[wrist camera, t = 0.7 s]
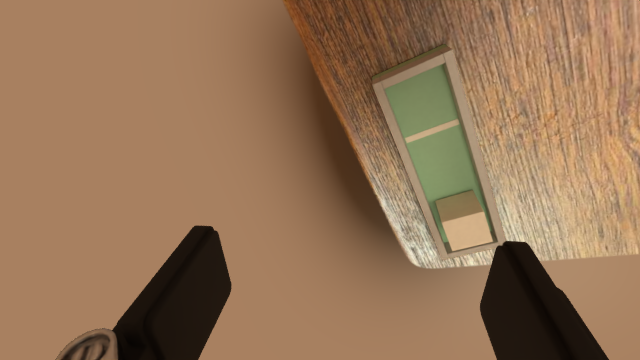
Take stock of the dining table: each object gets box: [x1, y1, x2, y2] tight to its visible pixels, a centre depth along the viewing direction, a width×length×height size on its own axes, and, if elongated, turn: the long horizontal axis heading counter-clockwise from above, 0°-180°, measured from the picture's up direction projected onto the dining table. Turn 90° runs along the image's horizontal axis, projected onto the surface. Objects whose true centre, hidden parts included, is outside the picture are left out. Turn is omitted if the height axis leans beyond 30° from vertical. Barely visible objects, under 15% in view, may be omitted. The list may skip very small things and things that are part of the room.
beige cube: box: [435, 190, 493, 251], centre depth 33 cm, size 4×4×4 cm
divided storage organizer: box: [372, 44, 506, 260], centre depth 33 cm, size 22×7×4 cm, turn 26°
